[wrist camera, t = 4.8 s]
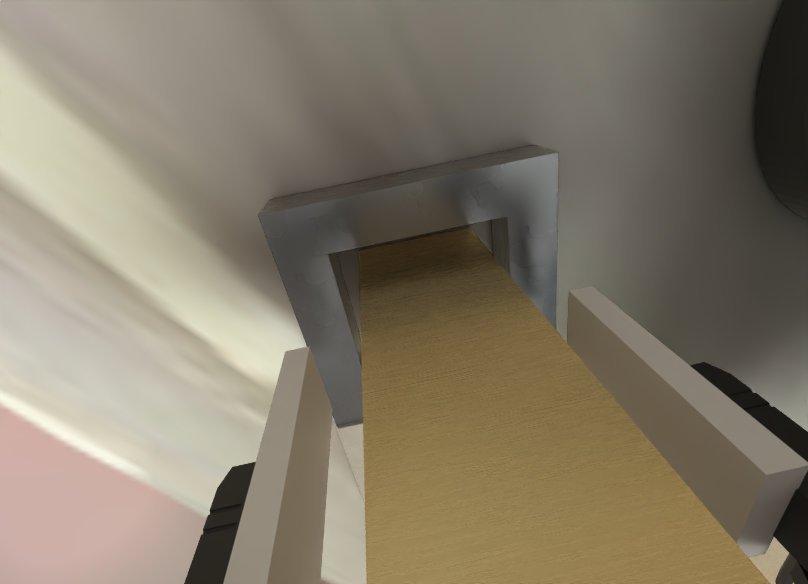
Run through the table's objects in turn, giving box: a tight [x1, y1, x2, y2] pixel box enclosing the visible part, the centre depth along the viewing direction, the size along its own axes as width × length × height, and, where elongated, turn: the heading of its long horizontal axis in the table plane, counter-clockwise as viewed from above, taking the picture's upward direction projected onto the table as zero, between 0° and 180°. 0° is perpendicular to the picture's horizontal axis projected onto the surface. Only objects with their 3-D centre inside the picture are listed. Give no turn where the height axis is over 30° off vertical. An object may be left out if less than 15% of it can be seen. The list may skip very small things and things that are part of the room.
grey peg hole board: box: [258, 145, 559, 503], centre depth 20 cm, size 28×10×2 cm, turn 10°
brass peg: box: [359, 228, 770, 584], centre depth 10 cm, size 5×5×15 cm
